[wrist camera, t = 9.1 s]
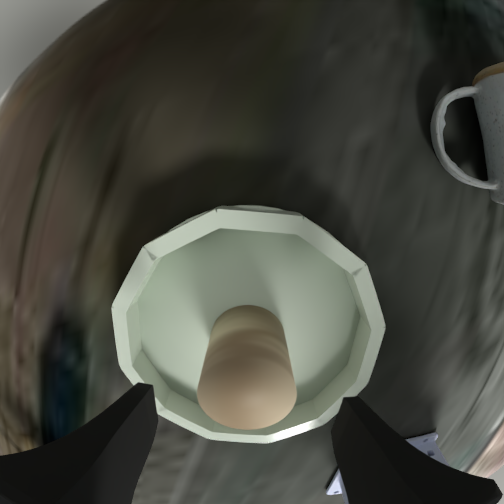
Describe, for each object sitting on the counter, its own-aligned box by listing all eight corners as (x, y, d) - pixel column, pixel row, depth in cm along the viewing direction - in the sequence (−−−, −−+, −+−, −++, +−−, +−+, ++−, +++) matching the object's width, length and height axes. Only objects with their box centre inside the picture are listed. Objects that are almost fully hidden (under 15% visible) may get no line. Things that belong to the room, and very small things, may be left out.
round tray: (386, 219, 15) (408, 226, 12) (337, 416, 18) (346, 441, 16) (127, 197, 15) (105, 200, 12) (141, 402, 18) (131, 426, 15)
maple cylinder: (290, 309, 15) (306, 363, 10) (277, 370, 16) (286, 432, 11) (214, 300, 15) (198, 352, 10) (208, 362, 16) (195, 423, 11)
